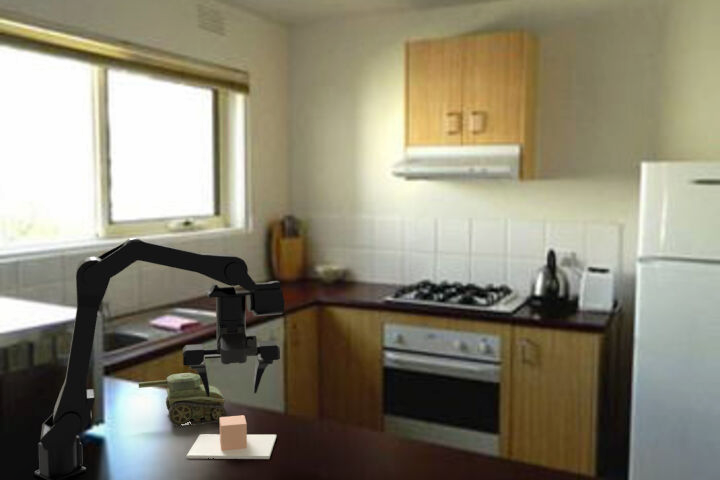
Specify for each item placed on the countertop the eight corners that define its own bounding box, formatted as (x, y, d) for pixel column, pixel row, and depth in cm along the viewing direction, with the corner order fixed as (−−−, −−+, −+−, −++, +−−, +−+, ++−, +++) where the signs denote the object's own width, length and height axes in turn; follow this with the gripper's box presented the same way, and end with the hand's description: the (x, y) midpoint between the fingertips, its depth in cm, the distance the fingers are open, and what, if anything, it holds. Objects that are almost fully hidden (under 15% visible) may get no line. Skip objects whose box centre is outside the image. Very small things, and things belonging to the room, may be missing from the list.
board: (186, 458, 131) (186, 455, 130) (200, 436, 141) (200, 434, 141) (269, 458, 130) (269, 455, 130) (276, 437, 141) (276, 434, 141)
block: (221, 450, 133) (220, 425, 132) (219, 441, 138) (219, 417, 137) (246, 448, 134) (246, 423, 134) (244, 438, 139) (244, 415, 139)
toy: (138, 416, 154) (137, 373, 153) (220, 407, 161) (219, 366, 160) (140, 431, 145) (139, 386, 144) (226, 421, 151) (226, 378, 150)
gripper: (182, 328, 124) (184, 411, 125) (283, 323, 128) (284, 403, 130) (182, 317, 134) (183, 393, 136) (275, 312, 139) (276, 386, 140)
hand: (231, 394), depth 135 cm, fingers open, 9 cm apart
